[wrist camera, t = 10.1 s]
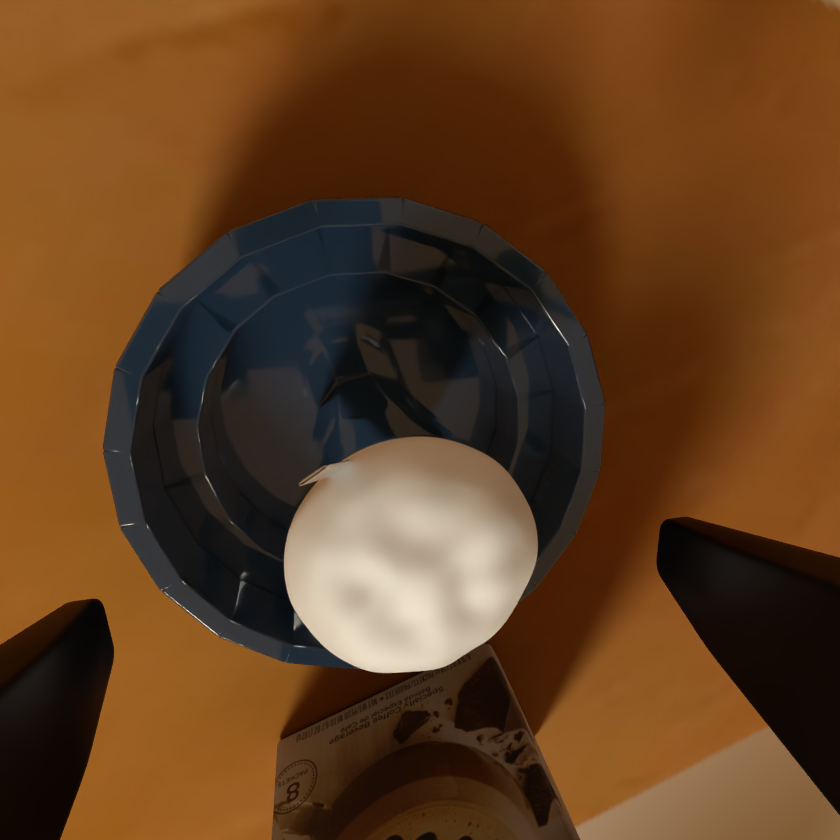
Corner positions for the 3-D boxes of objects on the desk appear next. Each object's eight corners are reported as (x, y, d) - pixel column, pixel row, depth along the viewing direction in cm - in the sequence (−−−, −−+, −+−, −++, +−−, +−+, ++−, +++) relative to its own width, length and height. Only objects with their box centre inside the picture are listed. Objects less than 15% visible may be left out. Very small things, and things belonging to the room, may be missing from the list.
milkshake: (372, 301, 16) (461, 372, 7) (463, 439, 18) (629, 641, 9) (245, 388, 16) (164, 574, 7) (349, 517, 18) (395, 800, 9)
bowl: (543, 205, 17) (620, 191, 13) (533, 552, 21) (590, 630, 17) (118, 216, 15) (46, 204, 11) (191, 601, 19) (158, 703, 15)
